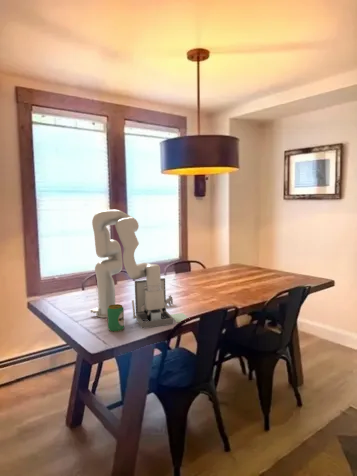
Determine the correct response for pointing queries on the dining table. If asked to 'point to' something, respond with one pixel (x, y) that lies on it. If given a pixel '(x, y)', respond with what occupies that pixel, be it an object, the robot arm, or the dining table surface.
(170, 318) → the equipment case
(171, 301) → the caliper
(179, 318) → the mat
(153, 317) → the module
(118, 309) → the beverage can
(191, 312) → the dining table surface
